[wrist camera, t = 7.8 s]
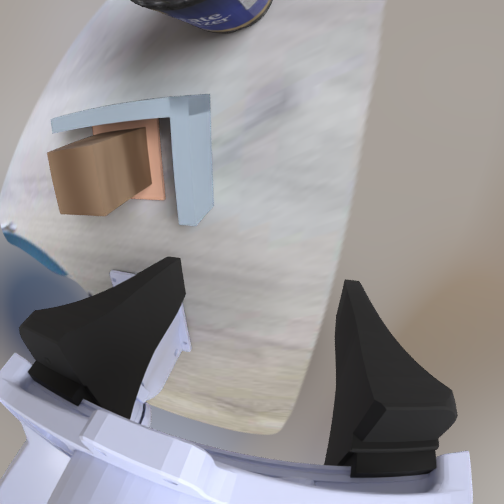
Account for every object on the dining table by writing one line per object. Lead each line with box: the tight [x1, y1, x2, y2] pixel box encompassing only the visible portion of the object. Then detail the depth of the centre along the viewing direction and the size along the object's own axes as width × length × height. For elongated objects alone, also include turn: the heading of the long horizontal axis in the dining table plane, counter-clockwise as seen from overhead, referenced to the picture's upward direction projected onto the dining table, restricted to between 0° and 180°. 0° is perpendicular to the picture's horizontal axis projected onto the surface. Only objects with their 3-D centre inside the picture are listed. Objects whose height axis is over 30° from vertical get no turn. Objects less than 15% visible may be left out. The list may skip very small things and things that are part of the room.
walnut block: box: [47, 127, 152, 216], centre depth 18 cm, size 4×4×6 cm
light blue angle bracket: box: [51, 94, 214, 226], centre depth 19 cm, size 8×12×4 cm
